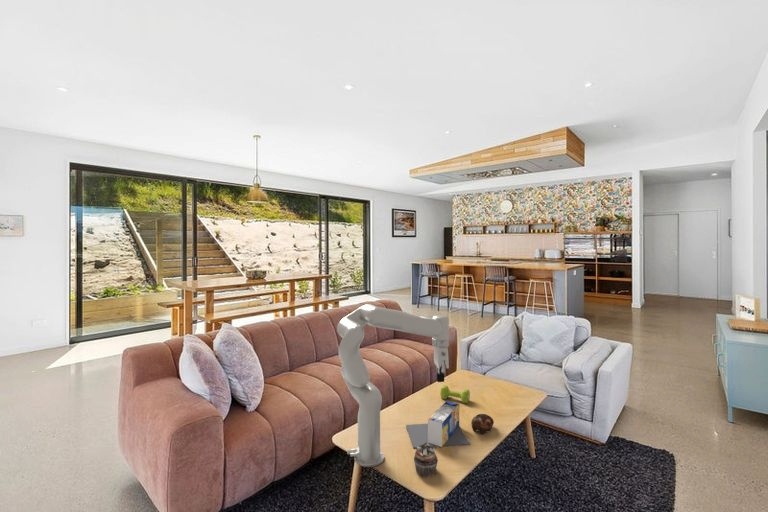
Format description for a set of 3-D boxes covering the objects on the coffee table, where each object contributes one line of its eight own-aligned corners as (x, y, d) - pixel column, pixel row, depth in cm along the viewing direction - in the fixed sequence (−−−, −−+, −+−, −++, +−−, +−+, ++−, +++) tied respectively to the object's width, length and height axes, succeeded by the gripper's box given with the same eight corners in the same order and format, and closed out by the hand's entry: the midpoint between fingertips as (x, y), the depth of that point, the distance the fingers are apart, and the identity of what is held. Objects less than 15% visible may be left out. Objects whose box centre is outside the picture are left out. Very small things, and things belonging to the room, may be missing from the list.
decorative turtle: (465, 433, 179) (465, 416, 179) (480, 424, 190) (480, 408, 190) (484, 440, 172) (484, 422, 172) (498, 429, 183) (498, 413, 183)
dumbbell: (470, 400, 215) (471, 388, 215) (467, 405, 208) (467, 393, 208) (443, 394, 223) (443, 383, 222) (439, 400, 216) (439, 387, 215)
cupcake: (408, 470, 151) (408, 446, 150) (424, 460, 157) (424, 437, 157) (427, 481, 144) (427, 456, 143) (442, 470, 150) (442, 446, 150)
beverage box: (427, 419, 169) (446, 400, 188) (427, 442, 170) (446, 422, 188) (442, 423, 166) (459, 403, 184) (442, 447, 166) (459, 425, 185)
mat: (413, 448, 166) (413, 447, 166) (405, 426, 186) (405, 424, 186) (470, 444, 169) (470, 443, 169) (456, 422, 189) (456, 421, 189)
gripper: (453, 346, 165) (453, 387, 166) (444, 337, 180) (444, 375, 181) (436, 347, 164) (436, 388, 165) (428, 338, 179) (428, 375, 180)
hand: (440, 381), depth 173 cm, fingers closed
